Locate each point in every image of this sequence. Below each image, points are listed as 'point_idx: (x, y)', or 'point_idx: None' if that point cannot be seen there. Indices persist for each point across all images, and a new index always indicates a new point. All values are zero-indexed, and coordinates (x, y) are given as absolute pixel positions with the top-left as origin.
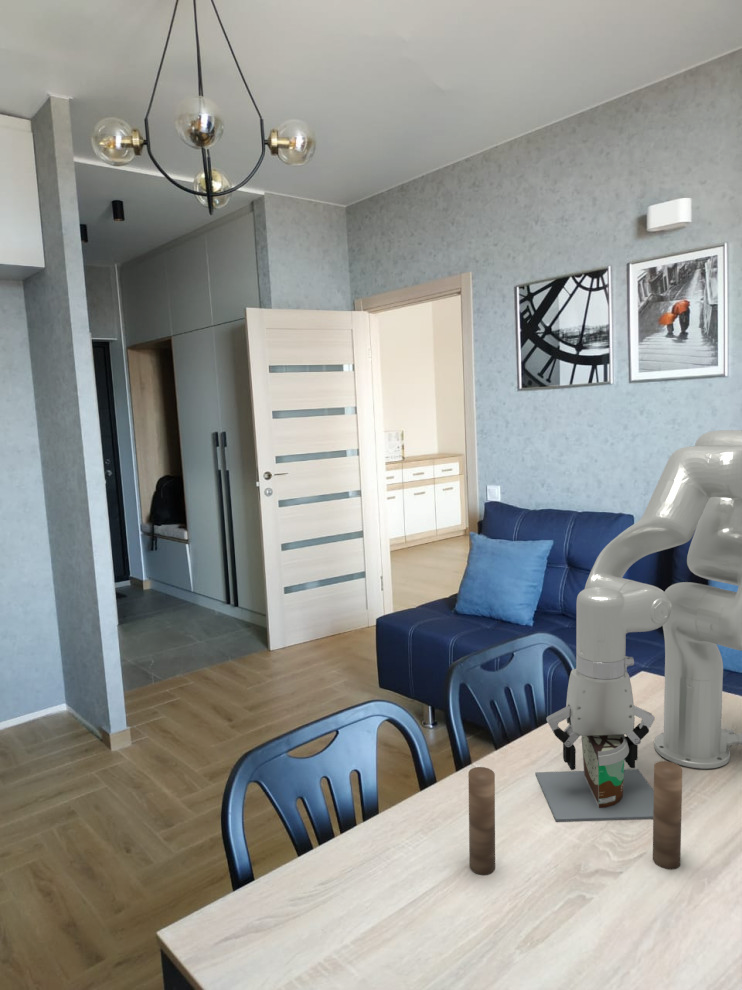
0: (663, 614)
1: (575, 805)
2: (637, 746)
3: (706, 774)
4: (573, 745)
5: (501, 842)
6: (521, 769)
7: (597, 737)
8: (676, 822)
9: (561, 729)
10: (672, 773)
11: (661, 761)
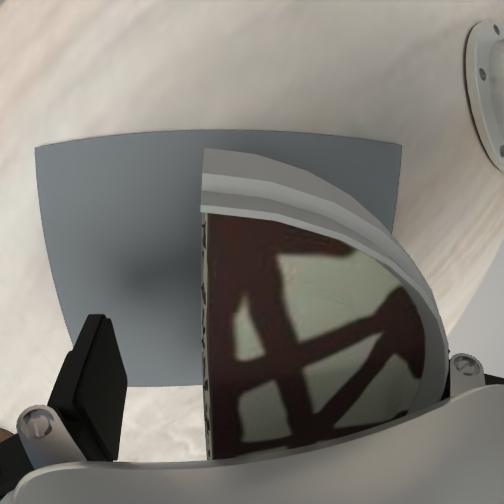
0: None
1: (137, 341)
2: None
3: (497, 189)
4: (105, 449)
5: (12, 410)
6: (7, 116)
7: (270, 442)
8: None
9: (16, 479)
10: None
11: None
